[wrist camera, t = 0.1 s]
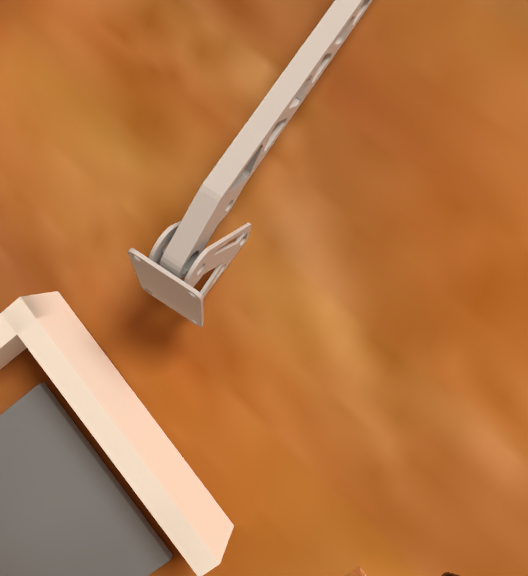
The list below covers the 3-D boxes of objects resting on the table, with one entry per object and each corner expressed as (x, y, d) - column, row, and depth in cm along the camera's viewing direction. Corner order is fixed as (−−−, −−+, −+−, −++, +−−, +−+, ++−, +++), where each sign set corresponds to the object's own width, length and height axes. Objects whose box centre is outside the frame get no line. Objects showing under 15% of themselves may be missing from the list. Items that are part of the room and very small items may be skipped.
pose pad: (46, 642, 26) (42, 648, 26) (-75, 477, 27) (-81, 480, 26) (173, 555, 25) (170, 560, 24) (43, 381, 25) (39, 383, 25)
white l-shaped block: (13, 676, 27) (-28, 729, 24) (-144, 461, 27) (-203, 487, 24) (234, 525, 24) (219, 563, 21) (57, 291, 25) (19, 296, 22)
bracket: (143, 290, 22) (95, 172, 13) (367, 4, 29) (446, -213, 19) (201, 329, 22) (198, 239, 12) (414, 31, 28) (517, -175, 19)
